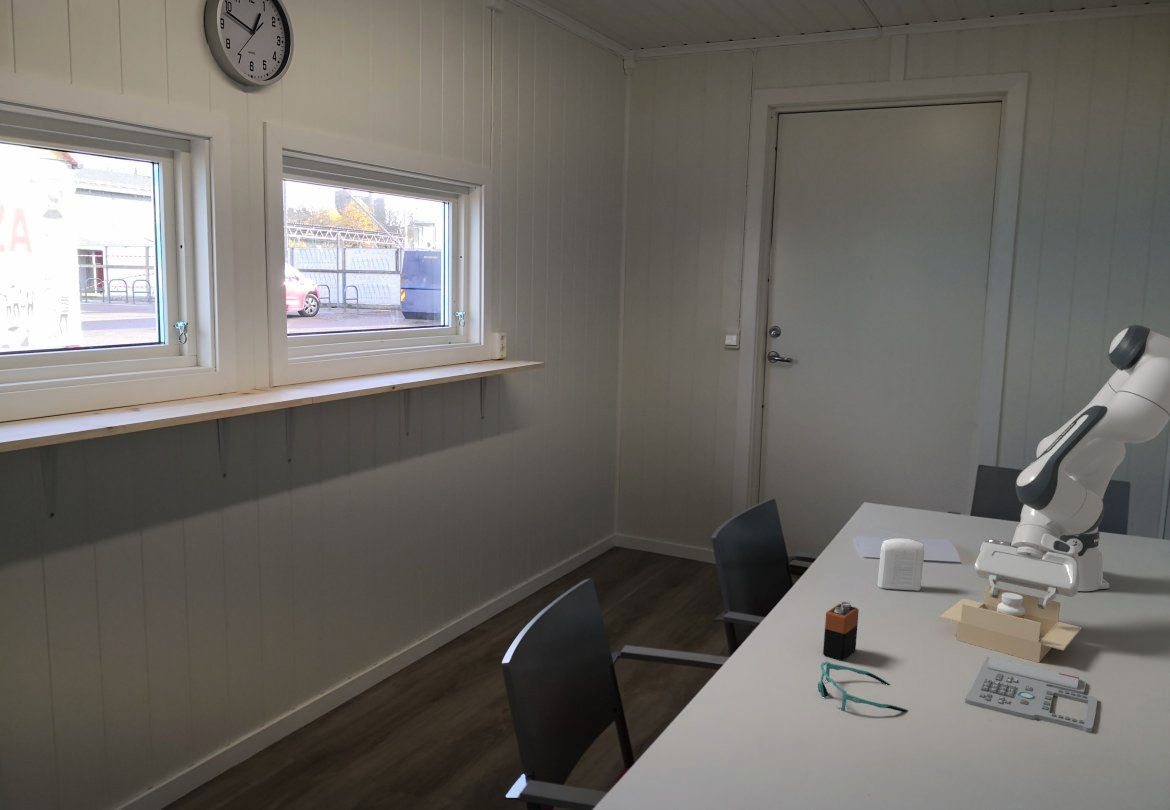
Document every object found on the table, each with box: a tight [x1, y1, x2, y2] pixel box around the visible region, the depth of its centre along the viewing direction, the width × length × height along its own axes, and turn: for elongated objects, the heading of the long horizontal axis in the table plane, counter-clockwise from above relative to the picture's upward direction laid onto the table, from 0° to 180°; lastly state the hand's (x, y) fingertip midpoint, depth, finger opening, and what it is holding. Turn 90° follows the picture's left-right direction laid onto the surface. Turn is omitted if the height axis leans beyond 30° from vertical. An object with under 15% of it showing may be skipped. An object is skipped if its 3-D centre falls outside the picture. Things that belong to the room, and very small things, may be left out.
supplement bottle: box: [997, 593, 1025, 619], centre depth 191 cm, size 5×5×10 cm
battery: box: [822, 601, 860, 661], centre depth 182 cm, size 4×7×10 cm, turn 142°
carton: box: [939, 585, 1083, 663], centre depth 191 cm, size 16×24×8 cm, turn 50°
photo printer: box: [877, 537, 925, 592], centre depth 222 cm, size 10×4×12 cm, turn 86°
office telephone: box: [964, 656, 1098, 734], centre depth 167 cm, size 23×3×20 cm
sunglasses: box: [817, 661, 910, 713], centre depth 164 cm, size 14×15×5 cm
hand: (1017, 602), depth 192 cm, fingers open, 8 cm apart
